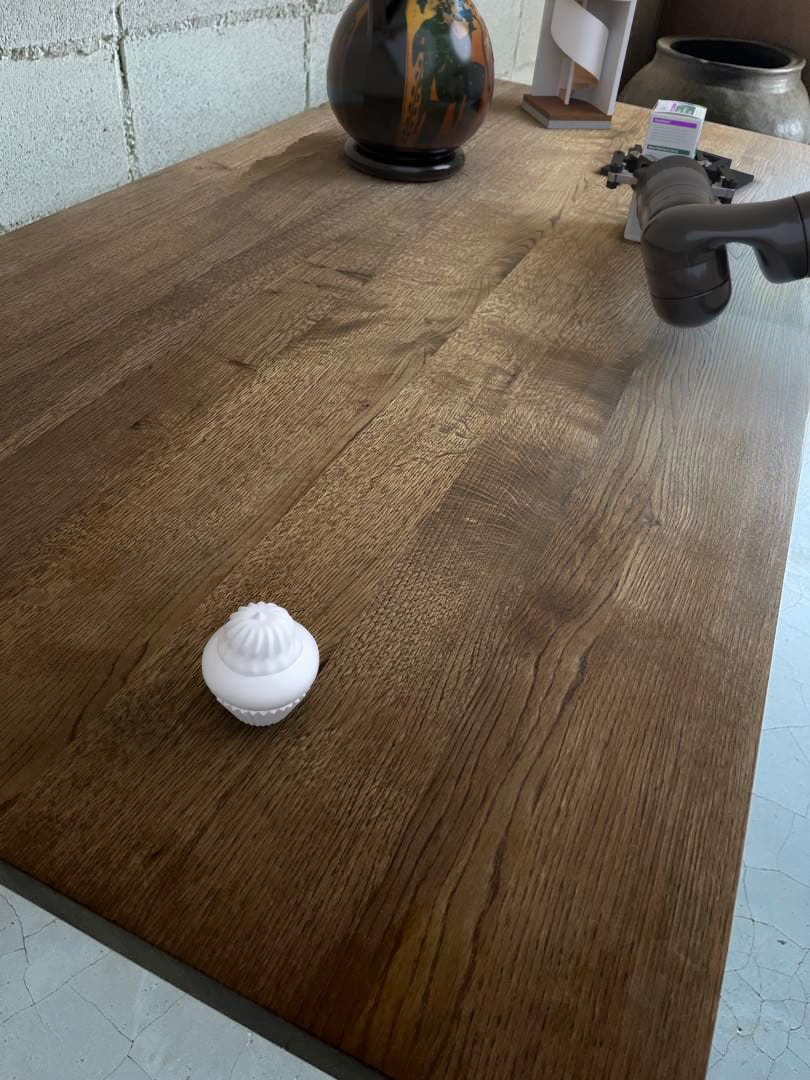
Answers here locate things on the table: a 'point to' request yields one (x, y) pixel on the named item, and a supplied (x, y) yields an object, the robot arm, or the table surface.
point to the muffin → (260, 663)
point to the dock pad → (715, 160)
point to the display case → (579, 62)
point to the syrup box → (668, 143)
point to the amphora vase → (410, 85)
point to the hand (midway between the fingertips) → (665, 157)
